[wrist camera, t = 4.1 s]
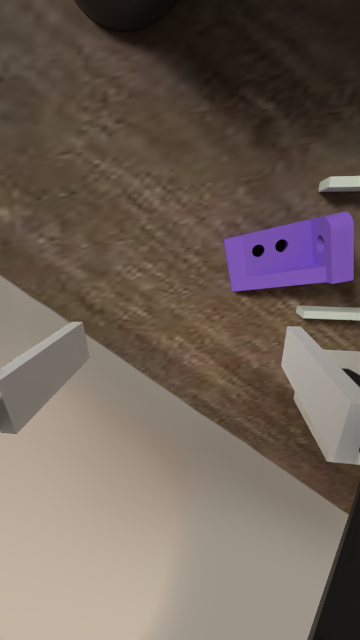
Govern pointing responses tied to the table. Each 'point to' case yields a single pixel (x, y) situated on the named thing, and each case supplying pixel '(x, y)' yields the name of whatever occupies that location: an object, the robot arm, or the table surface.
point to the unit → (343, 359)
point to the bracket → (294, 254)
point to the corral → (333, 312)
